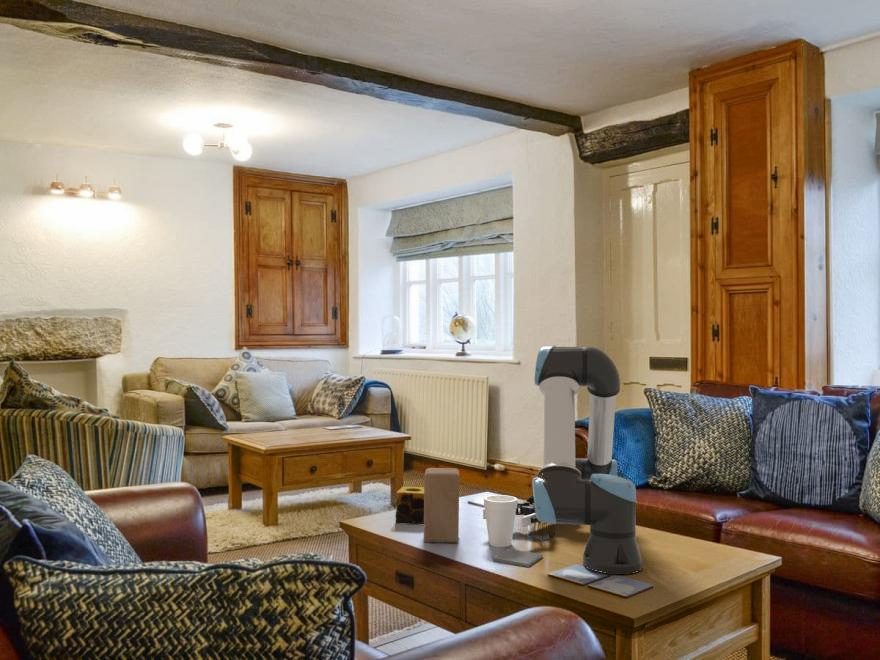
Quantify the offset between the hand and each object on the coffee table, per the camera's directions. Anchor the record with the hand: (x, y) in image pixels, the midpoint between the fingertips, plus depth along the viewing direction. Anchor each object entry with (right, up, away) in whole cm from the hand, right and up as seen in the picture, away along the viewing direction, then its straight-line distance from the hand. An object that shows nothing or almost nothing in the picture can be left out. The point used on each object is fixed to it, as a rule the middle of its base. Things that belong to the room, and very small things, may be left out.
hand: (503, 518), depth 223 cm
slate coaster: (+3, -7, -17) cm, 18 cm away
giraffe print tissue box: (-27, -7, +24) cm, 36 cm away
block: (-18, -7, +3) cm, 19 cm away
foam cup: (-1, -7, -2) cm, 7 cm away
